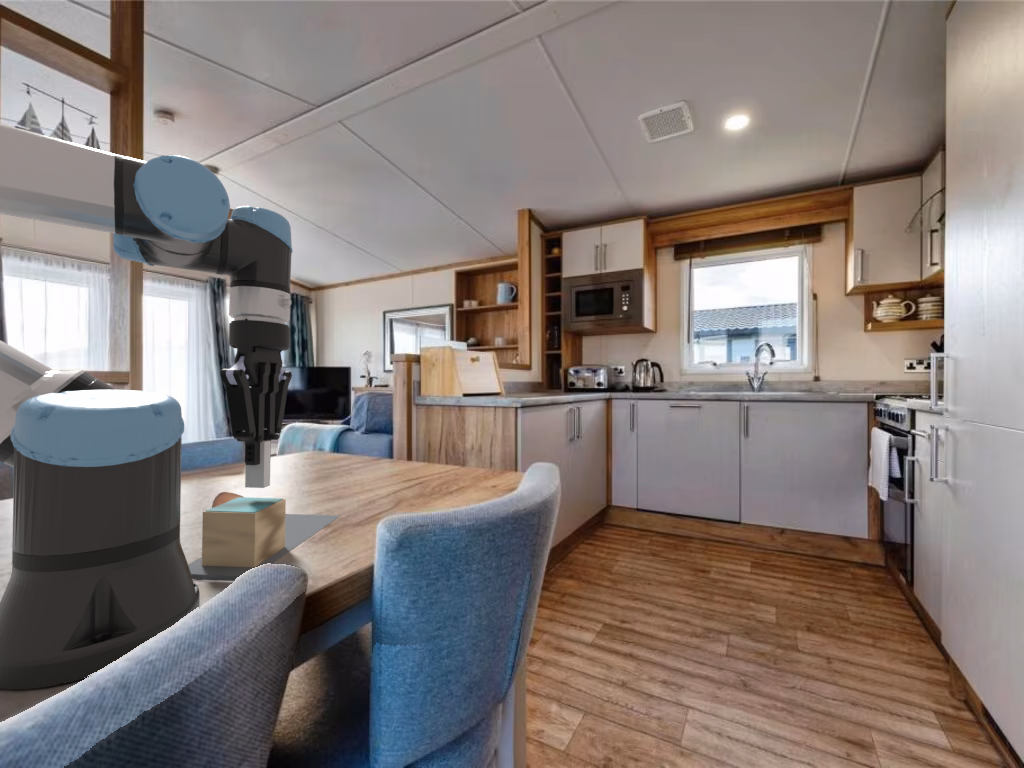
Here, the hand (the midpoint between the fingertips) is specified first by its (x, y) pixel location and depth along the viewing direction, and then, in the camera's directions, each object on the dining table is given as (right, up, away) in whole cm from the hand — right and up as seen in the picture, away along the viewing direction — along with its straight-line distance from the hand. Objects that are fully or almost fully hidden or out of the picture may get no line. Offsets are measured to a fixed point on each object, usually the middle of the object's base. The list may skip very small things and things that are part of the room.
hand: (257, 486), depth 62 cm
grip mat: (0, -10, +4) cm, 10 cm away
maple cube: (0, -2, -2) cm, 3 cm away
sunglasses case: (-12, -10, +15) cm, 22 cm away
